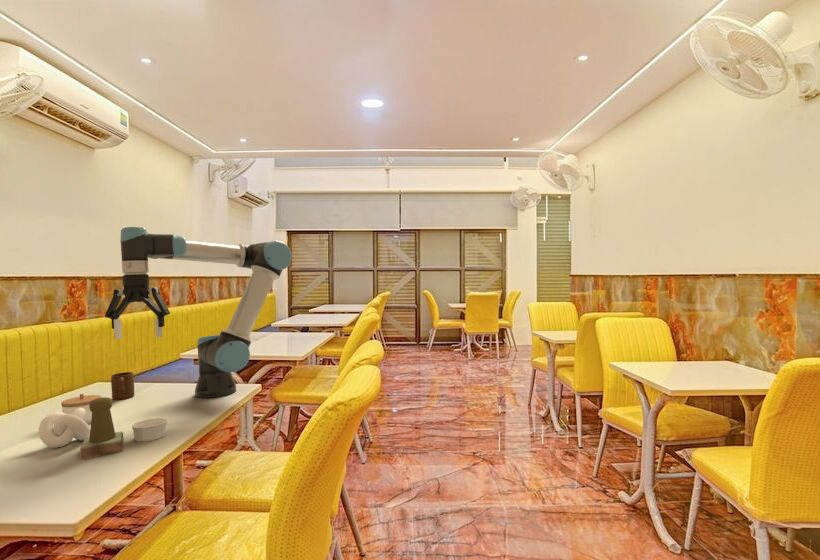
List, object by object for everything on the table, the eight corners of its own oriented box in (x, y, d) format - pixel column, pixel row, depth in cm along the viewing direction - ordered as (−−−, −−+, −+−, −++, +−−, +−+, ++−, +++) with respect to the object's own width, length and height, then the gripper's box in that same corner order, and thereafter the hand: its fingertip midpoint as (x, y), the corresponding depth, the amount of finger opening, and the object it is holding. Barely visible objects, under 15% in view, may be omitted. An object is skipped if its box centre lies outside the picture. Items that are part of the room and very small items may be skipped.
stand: (123, 441, 130) (123, 430, 130) (122, 451, 122) (121, 440, 122) (85, 448, 125) (84, 437, 125) (80, 459, 117) (80, 447, 117)
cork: (97, 444, 119) (94, 402, 119) (84, 441, 122) (82, 400, 122) (120, 436, 125) (118, 396, 125) (107, 433, 128) (105, 394, 127)
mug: (133, 400, 175) (132, 376, 175) (110, 404, 172) (108, 379, 171) (135, 394, 186) (134, 371, 186) (113, 397, 182) (111, 373, 182)
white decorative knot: (105, 436, 135) (103, 406, 135) (67, 451, 123) (65, 418, 123) (73, 434, 137) (72, 405, 137) (33, 450, 126) (31, 417, 126)
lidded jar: (81, 428, 143) (80, 398, 143) (53, 427, 145) (52, 398, 145) (110, 417, 154) (109, 390, 153) (84, 417, 156) (82, 389, 156)
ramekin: (135, 435, 135) (134, 420, 135) (169, 430, 138) (168, 416, 138) (130, 445, 127) (129, 429, 127) (166, 439, 130) (165, 424, 130)
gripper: (90, 275, 147) (93, 341, 148) (167, 272, 147) (170, 337, 148) (105, 275, 155) (108, 337, 155) (178, 272, 155) (181, 334, 155)
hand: (138, 337), depth 151 cm, fingers open, 13 cm apart
